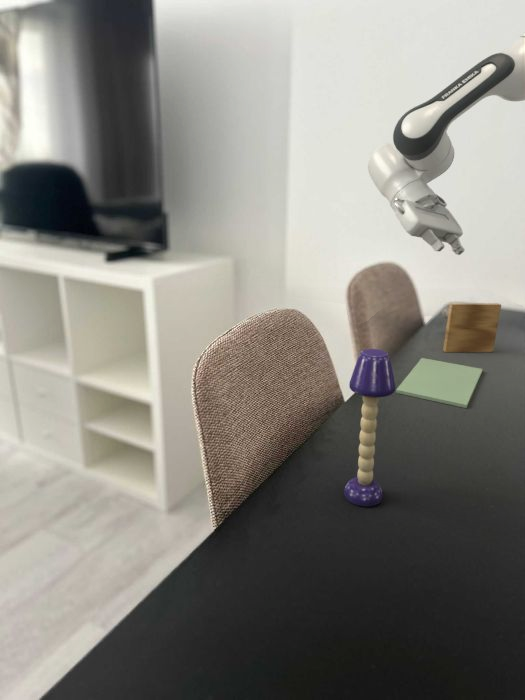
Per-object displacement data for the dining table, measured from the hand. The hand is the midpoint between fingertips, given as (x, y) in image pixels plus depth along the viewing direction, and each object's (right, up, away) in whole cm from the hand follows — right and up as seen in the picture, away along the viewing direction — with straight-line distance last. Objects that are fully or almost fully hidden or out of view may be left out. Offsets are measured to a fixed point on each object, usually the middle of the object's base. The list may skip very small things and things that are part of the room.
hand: (451, 251), depth 109 cm
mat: (-9, -27, -20) cm, 34 cm away
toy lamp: (-29, -37, -52) cm, 70 cm away
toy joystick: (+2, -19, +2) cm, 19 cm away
